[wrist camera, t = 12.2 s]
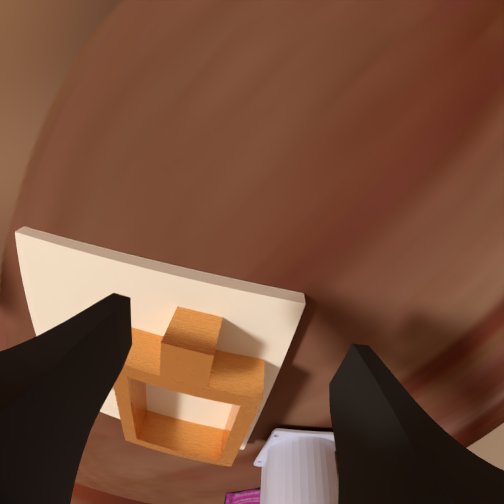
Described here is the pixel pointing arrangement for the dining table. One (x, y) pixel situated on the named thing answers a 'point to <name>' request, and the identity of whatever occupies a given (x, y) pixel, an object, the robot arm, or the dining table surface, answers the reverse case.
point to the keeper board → (159, 309)
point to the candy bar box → (243, 497)
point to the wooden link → (188, 388)
